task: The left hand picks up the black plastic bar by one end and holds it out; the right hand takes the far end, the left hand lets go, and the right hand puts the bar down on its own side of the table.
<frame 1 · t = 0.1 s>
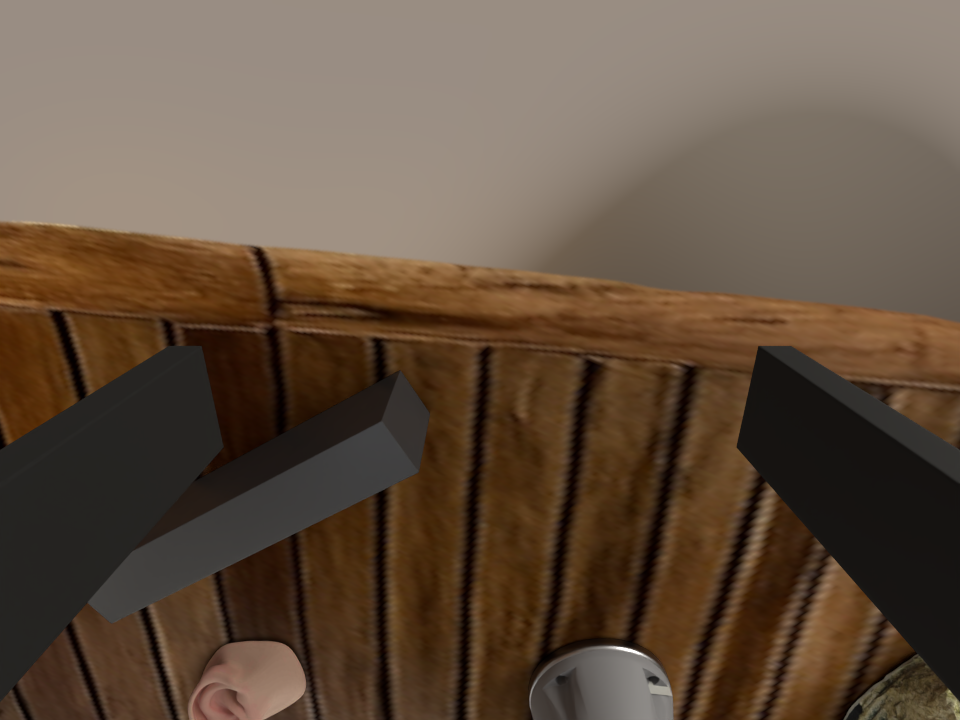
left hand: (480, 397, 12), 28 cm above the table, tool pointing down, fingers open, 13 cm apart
fossil: (895, 693, 57), on the table
anatomical model: (252, 678, 56), on the table
bar: (277, 464, 46), on the table
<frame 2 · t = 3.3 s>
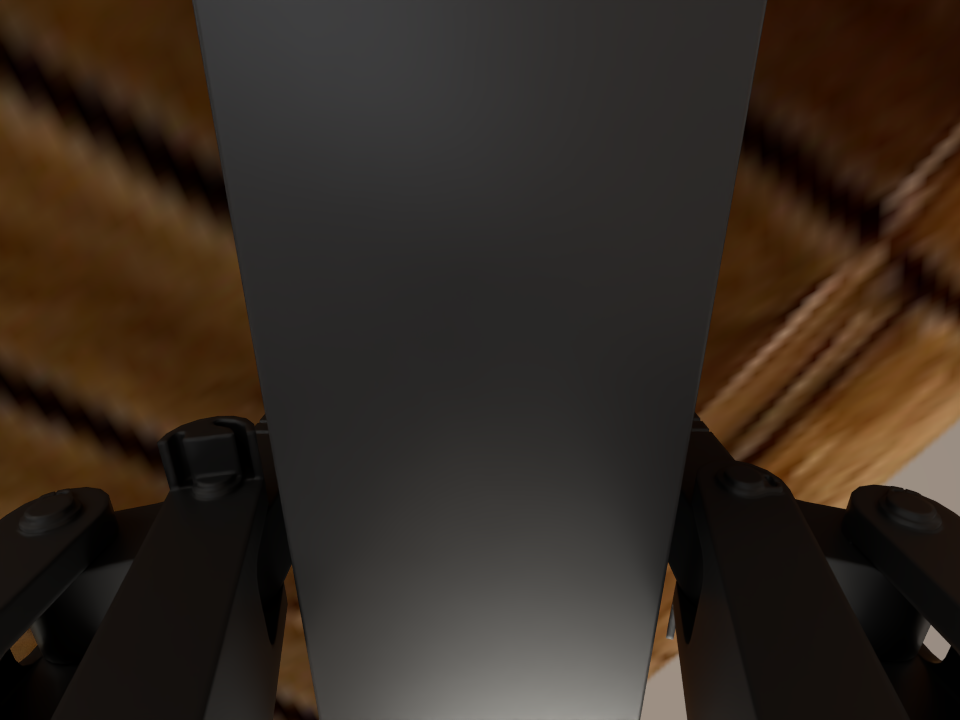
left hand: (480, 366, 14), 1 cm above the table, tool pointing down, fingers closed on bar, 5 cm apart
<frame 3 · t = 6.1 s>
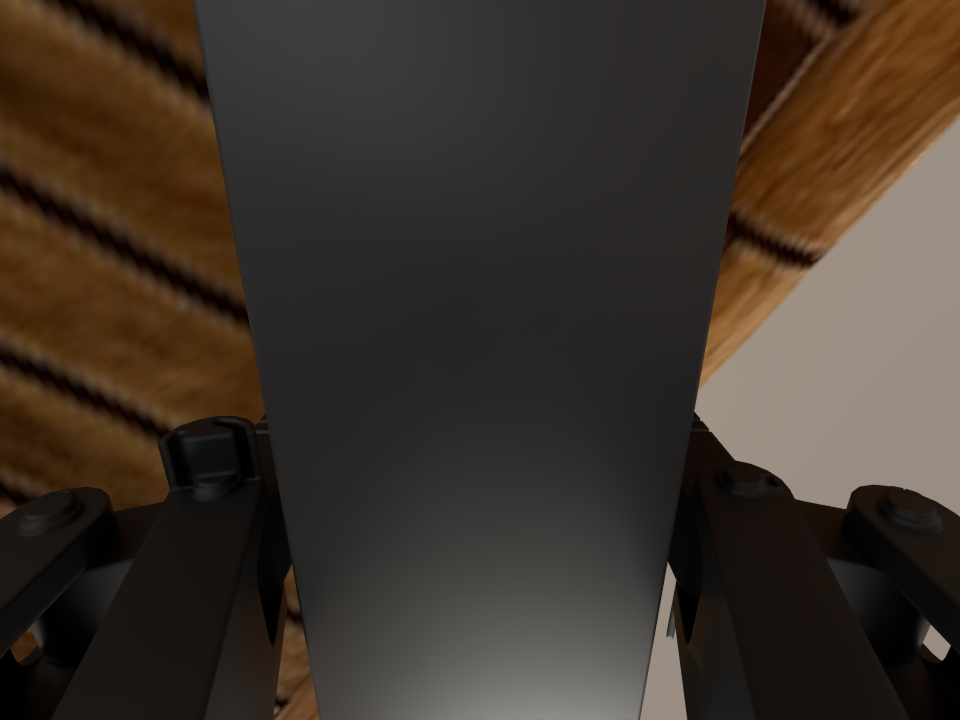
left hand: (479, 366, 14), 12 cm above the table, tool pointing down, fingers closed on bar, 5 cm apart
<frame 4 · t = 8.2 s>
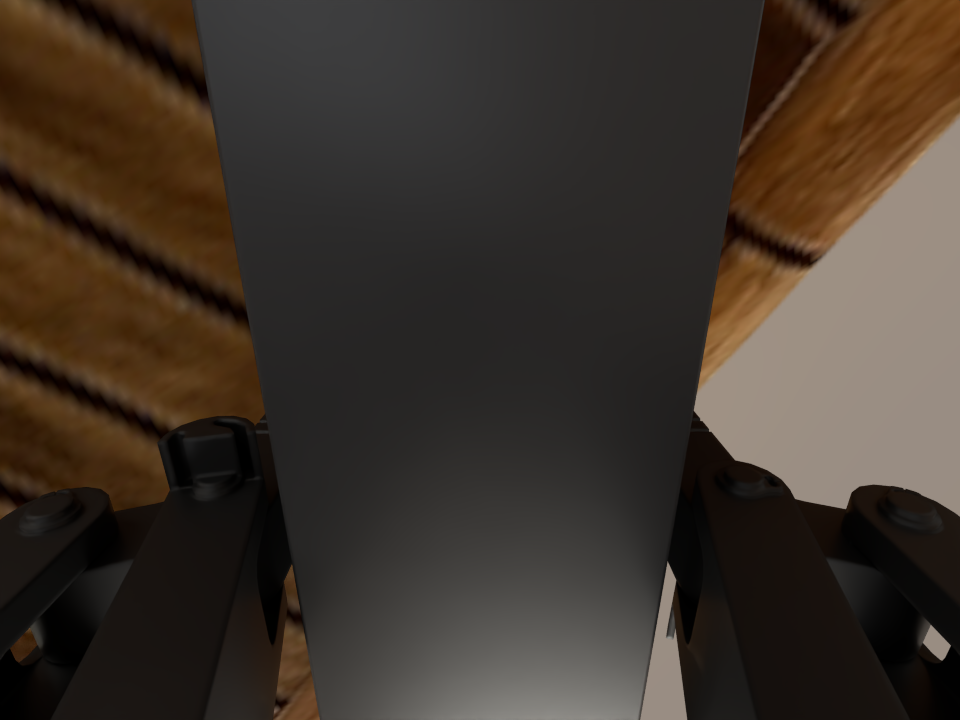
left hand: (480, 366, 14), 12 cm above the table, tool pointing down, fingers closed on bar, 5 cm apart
when the left hand's fingers open (12 cm above the table, at t = 8.9 s): bar stays where it is, held by the right hand.
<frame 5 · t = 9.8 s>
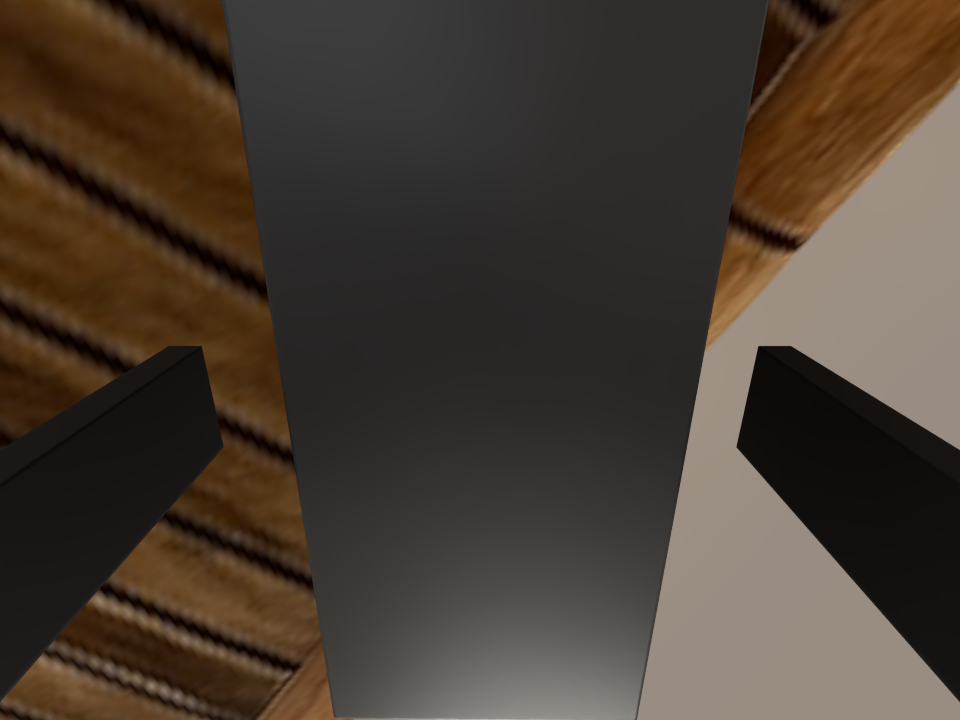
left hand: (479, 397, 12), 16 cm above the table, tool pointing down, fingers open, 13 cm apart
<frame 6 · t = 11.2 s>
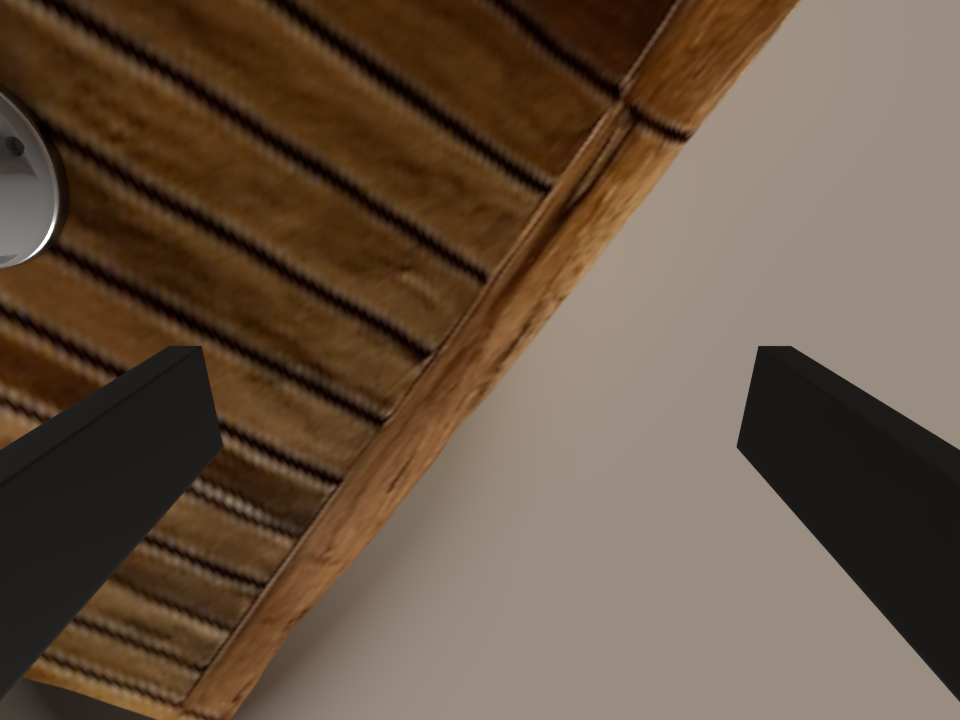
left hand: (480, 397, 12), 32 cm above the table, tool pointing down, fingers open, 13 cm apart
when the right hand's fingers open (2 cm above the table, at t = 14.4 s): bar drops 2 cm, on the table.
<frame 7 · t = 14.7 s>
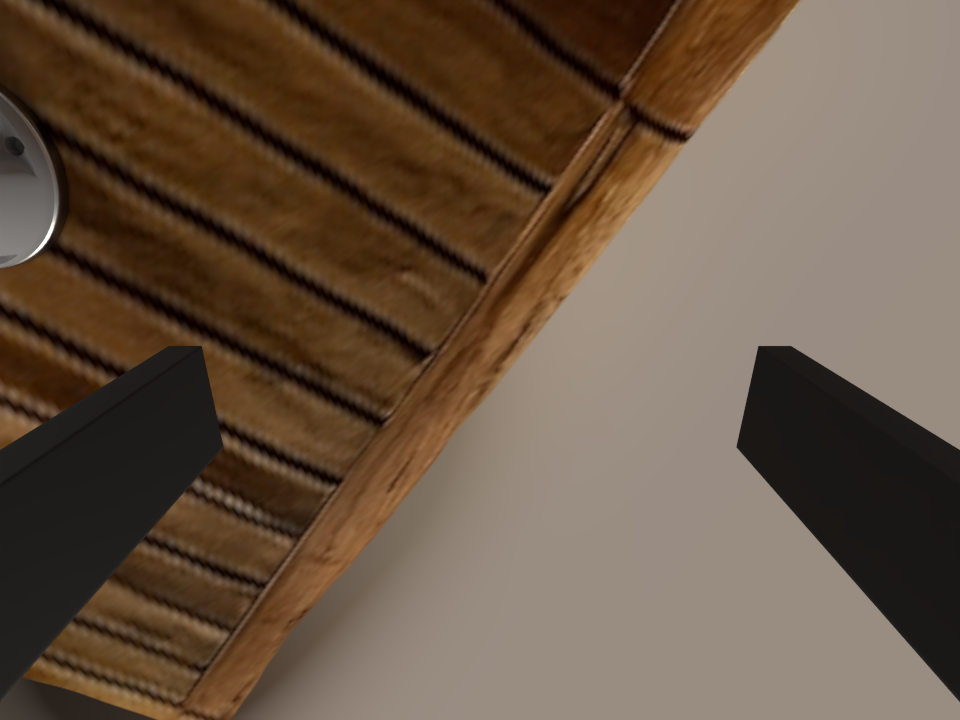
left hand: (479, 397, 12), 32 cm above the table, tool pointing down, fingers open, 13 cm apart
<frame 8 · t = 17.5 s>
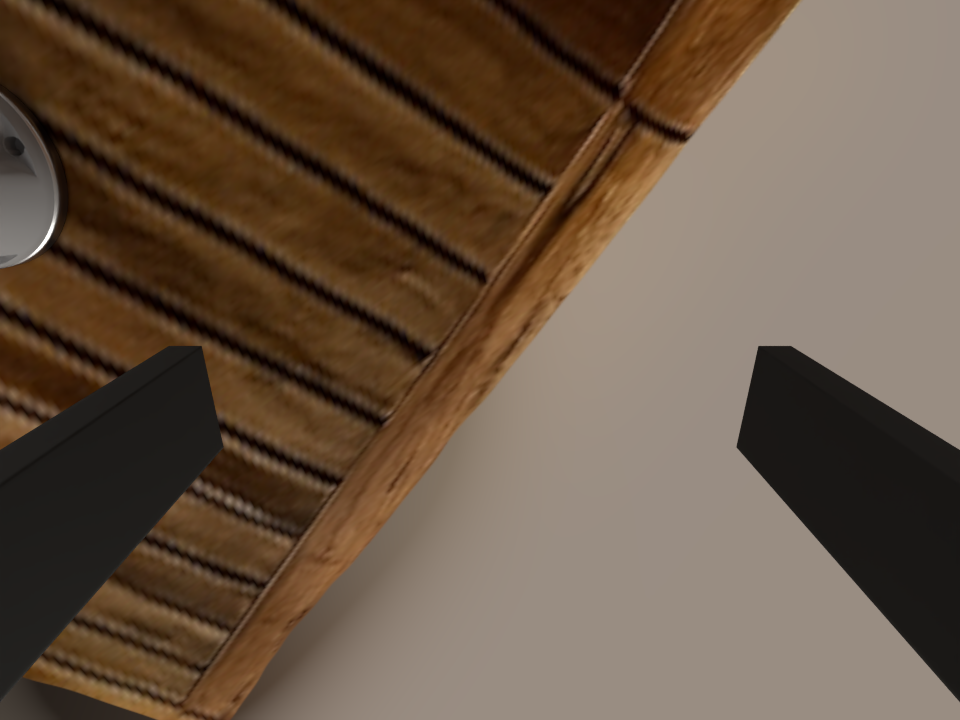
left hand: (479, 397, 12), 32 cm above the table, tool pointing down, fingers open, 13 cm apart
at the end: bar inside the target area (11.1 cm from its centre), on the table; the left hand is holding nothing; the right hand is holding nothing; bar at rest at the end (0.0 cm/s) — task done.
